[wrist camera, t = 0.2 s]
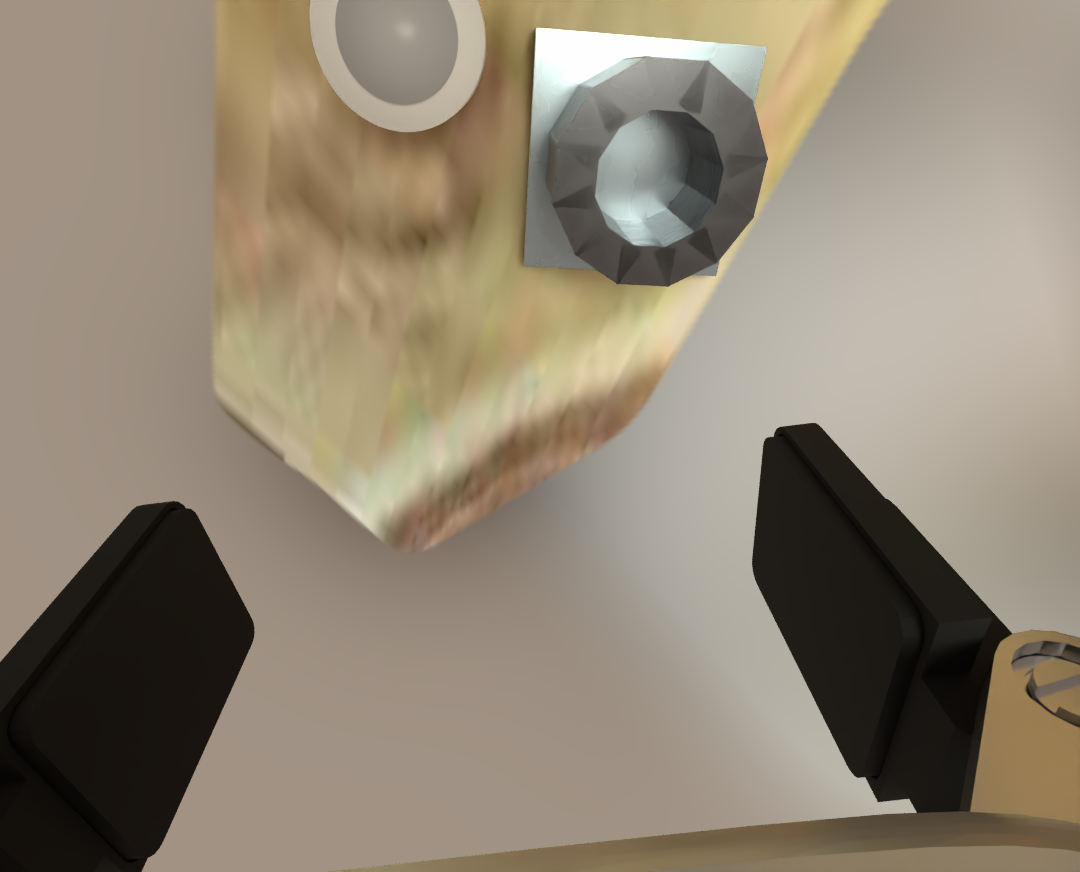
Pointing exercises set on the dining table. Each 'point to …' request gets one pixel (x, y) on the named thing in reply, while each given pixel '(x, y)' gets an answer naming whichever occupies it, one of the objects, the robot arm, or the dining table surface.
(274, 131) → the dining table surface
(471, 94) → the cup
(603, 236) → the gray square-based holder
